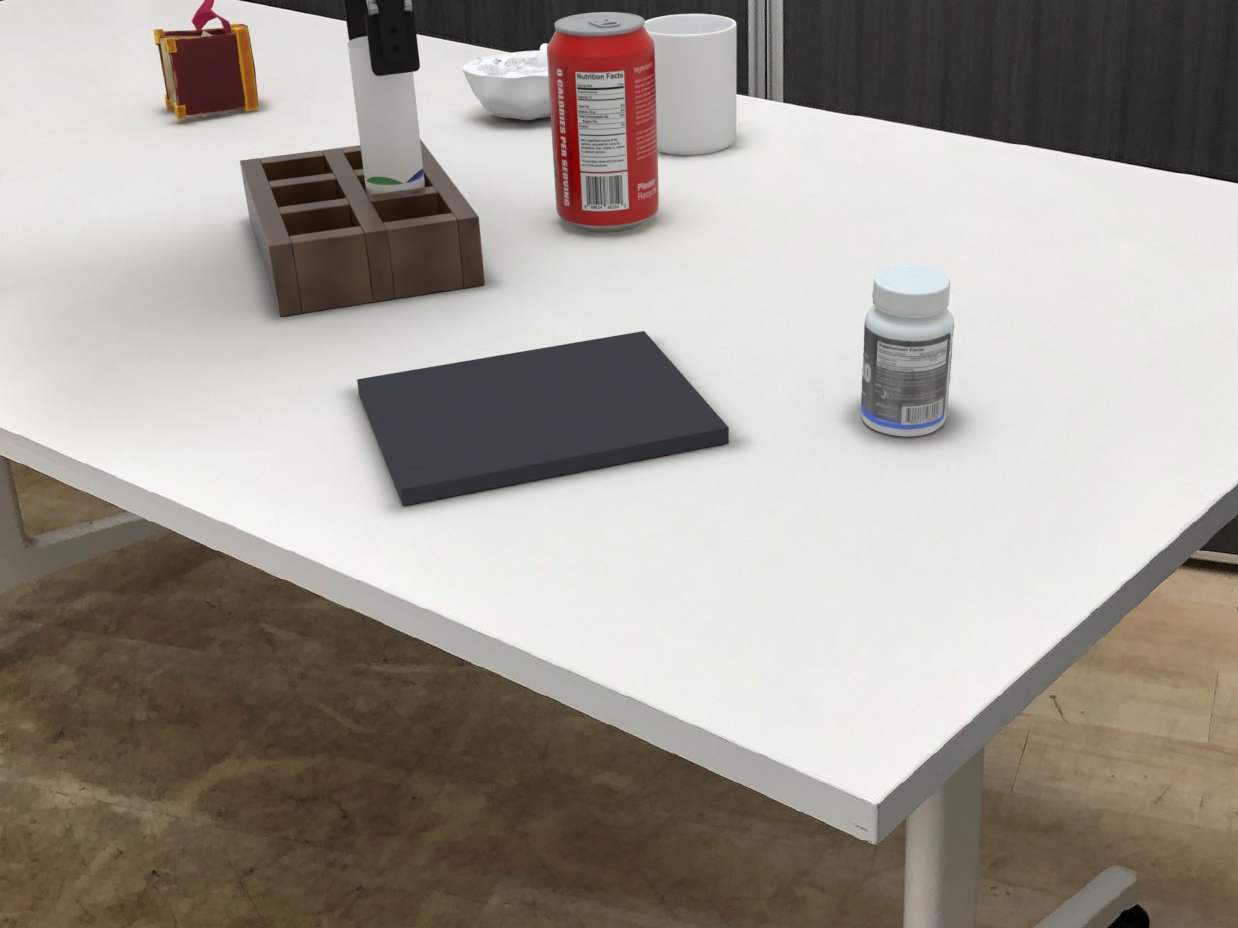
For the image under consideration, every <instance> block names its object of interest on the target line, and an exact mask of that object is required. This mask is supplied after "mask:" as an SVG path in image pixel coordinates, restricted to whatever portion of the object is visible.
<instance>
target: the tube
mask: <svg viewBox="0 0 1238 928" xmlns="http://www.w3.org/2000/svg"><path fill="white" fill-rule="evenodd" d="M347 48H348V49H347V50H348V58H349V67H350V73H351V81H352V88H353V89H352V90H353V97H354V106H355V113H356V121H357V129H358V136H359V145H360V146H361V154H362V162H363V170H364V178H365V186H366V194H367V196H368V195H373V194H380V193H387V192H395V191H402V190H409V189H417V188H424V187H425V182H424V173H423V171H422V170H423V163H422V153H421V144H420V139H421V135H420V126H419V117H418V115H419V114H418V107H417V99H416V88H415V79H414V78H415V77H414V72H408V73H400V74H392V75H384V76H376V75H375V74H374V73H373V72H372V69H371V61H370V54H369V46H368V38H367V36H364V37H359V38H356V39H353V40H351V41H349V40H348V42H347Z"/></svg>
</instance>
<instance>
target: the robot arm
mask: <svg viewBox="0 0 1238 928" xmlns="http://www.w3.org/2000/svg"><path fill="white" fill-rule="evenodd" d="M342 1H343V7H344V15H345V21H346V22H345V23H346V29H347V37H348V42H349V41H351V40H353V39H356V38H359V37H364V36H367V38H368V46H369V54H370V61H371V69H372V72H373V73H374V74H375V75H376V76H384V75H392V74H400V73H408V72H413V73H415V72H418V71H419V70H420V68H421V62H420V54H419V53H420V52H419V45H418V35H417V26H416V17H415V9H413V2H412V0H342Z"/></svg>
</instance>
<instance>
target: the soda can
mask: <svg viewBox="0 0 1238 928" xmlns="http://www.w3.org/2000/svg"><path fill="white" fill-rule="evenodd" d="M645 21H646V20H645V18H644V17H642V16H641V15H638V14H633V13H628V12H620V11H619V12H618V11H599V12H586V13H585V12H584V13H578V14H573V15H568V16H565V17H561V18H560V19H557V20H556V21H555V22H554V29H555V30H554V33H553V35H552V37H551V39H550V40H549V42H548V43H547V44H548V45H547V65H548V81H549V97H550V113H551V117H550V129H551V143H552V156H553V157H552V159H553V161H552V162H553V175H554V192H555V206H556V207H555V208H556V212H557V215H558V216H559V218H560V219H562V220H563V221H564V222H566V223H568V224H570V225H572V226H574V227H576V228H577V229H580V230H583V231H585V232H586V231H587V232H594V233H616V232H622V231H623V232H624V231H627V230H631V229H633V228H636V227H638V226H640V225H642V224H643V223H644V222H646V221H648V220H650V219H651V218H652V217H654V216H655V215H656V214H657V212H658V210H659V204H660V199H659V198H660V197H659V196H660V191H659V152H658V149H657V110H656V71H655V44H654V41H653V39H652V38H651V37H650V35H649V34H648V32H647V31H646V29H645V28H644V23H645Z"/></svg>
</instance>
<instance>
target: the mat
mask: <svg viewBox="0 0 1238 928" xmlns="http://www.w3.org/2000/svg"><path fill="white" fill-rule="evenodd" d="M356 383H357V389H358V395H359V398H360V400H361V404H363V407H364V411H365V413H366V416H367V418H368V421H369V423H370V425H371V429H372V430H373V434H374V436H375V438H376V442H377V444H378V446H379V448H380V451H381V454H382V456H383V459H384V461H385V464H386V467H387V469H388V472H389V474H390V477H391V479H392V481H393V484H394V487H395V489H396V492H397V494H398V497H399V499H400V503H401V505H402V506H408V505H414V504H419V503H424V502H429V501H434V500H441V499H446V498H451V497H456V496H460V495H465V494H471V493H476V492H480V491H487V490H492V489H496V488H502V487H506V486H512V485H519V484H524V483H529V482H534V481H538V480H544V479H549V478H554V477H555V478H556V477H559V476H565V475H570V474H575V473H580V472H585V471H590V470H596V469H600V468H606V467H611V466H617V465H622V464H626V463H627V464H628V463H631V462H637V461H642V460H648V459H653V458H659V457H663V456H667V455H668V456H669V455H673V454H678V453H684V452H689V451H695V450H699V449H705V448H709V447H715V446H721V445H725V444H729V443H730V442H729V441H730V433H729V431H730V427H729V426H728V425H727V424H726V422H725V421H724V420H723V419H722V418H721V417H720V415H718V413H717V412H716V411H715V410H714V408H713V407H712V406H711V405H710V404H709V403H708V402H707V401H706V400H705V398H704V397H703V396H702V395H701V394H700V393H699V391H698V390H697V389H696V388H695V387H694V386H693V384H691V383H690V381H689V380H688V378H686V377H685V376H684V374H683V373H682V372H681V371H680V370H679V368H678V367H676V365H675V364H674V363H673V362H672V361H671V359H670V358H669V357H668V356H667V355H666V354H665V353H664V352H663V351H662V350H661V348H660V347H659V346H658V344H656V342H655V341H654V340H653V339H652V338H651V336H649V334H648V333H647V331H645V330H640V331H635V332H629V333H624V334H617V335H612V336H611V335H610V336H605V337H599V338H593V339H587V340H582V341H575V342H570V343H565V344H558V345H551V346H546V347H541V348H535V349H529V350H522V351H517V352H511V353H505V354H499V355H494V356H486V357H482V358H475V359H469V360H464V361H457V362H450V363H446V364H440V365H434V366H428V367H427V366H426V367H422V368H416V369H409V370H403V371H398V372H392V373H386V374H379V375H374V376H368V377H363V378H357V380H356Z"/></svg>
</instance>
